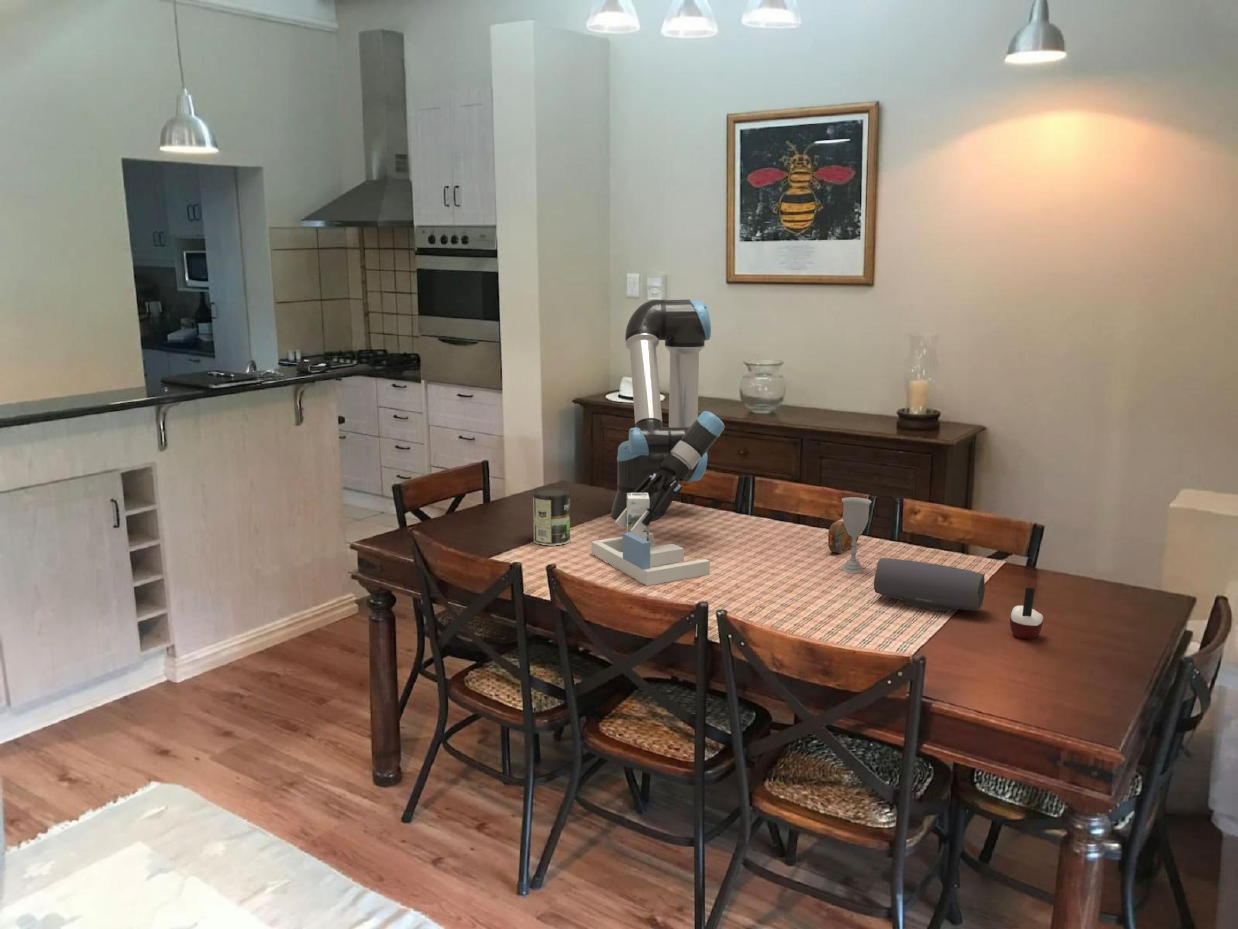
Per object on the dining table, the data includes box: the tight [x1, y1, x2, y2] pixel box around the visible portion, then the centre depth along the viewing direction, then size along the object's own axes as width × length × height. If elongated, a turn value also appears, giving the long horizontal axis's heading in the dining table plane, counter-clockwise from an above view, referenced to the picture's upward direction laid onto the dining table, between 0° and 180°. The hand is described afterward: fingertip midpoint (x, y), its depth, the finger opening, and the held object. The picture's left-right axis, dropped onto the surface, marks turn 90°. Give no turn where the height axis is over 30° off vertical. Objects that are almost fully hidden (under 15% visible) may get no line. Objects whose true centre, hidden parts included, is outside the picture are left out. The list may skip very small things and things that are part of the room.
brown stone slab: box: [827, 517, 859, 554], centre depth 266 cm, size 15×3×8 cm, turn 143°
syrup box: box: [626, 493, 650, 542], centre depth 258 cm, size 6×6×14 cm
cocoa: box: [1009, 587, 1044, 641], centre depth 205 cm, size 10×6×12 cm, turn 137°
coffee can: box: [532, 487, 571, 547], centre depth 272 cm, size 10×10×14 cm
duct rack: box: [590, 532, 711, 587], centre depth 252 cm, size 29×18×10 cm, turn 29°
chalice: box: [841, 496, 872, 574], centre depth 248 cm, size 7×7×18 cm
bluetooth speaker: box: [873, 557, 986, 612], centre depth 223 cm, size 23×9×10 cm, turn 59°
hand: (626, 529), depth 257 cm, fingers closed on syrup box, 7 cm apart
